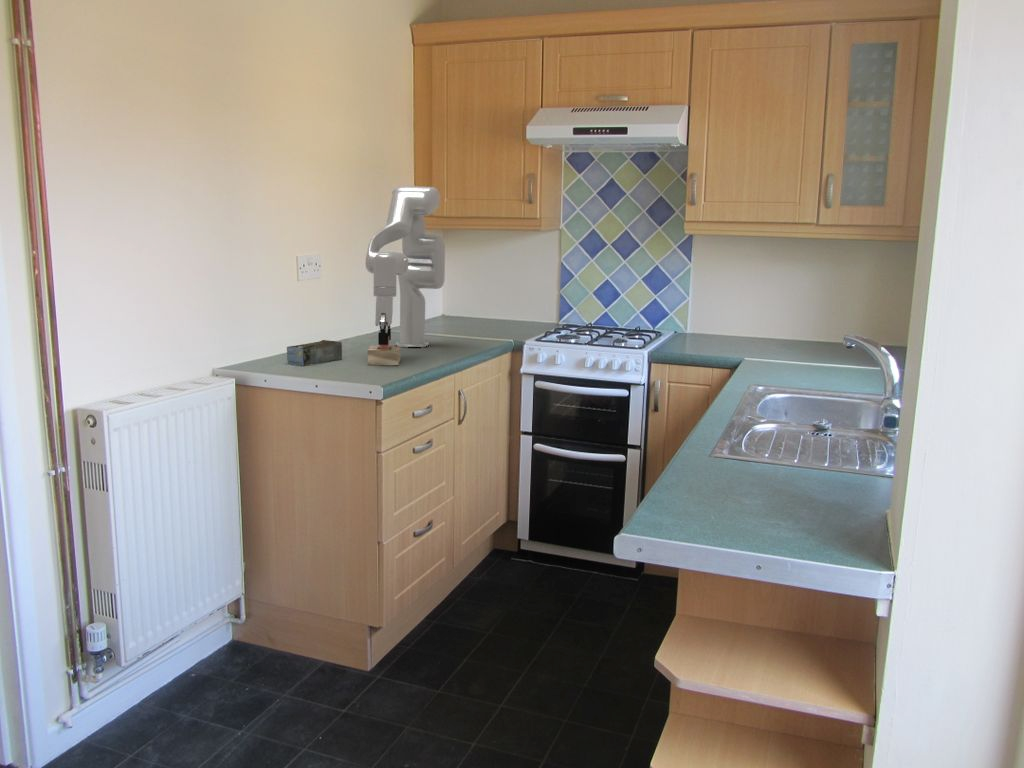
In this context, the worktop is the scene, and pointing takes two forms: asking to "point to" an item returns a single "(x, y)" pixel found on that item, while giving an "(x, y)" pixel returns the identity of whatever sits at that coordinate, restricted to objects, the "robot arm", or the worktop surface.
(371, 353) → the socket block
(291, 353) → the weathered blue-grey brick
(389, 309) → the robot arm
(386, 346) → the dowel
